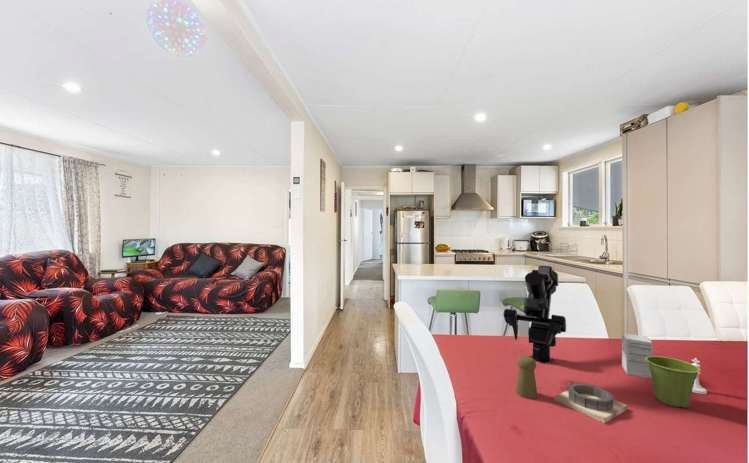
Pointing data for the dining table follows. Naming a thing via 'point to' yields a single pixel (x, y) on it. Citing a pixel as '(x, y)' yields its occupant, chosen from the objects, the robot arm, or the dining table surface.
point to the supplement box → (636, 355)
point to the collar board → (589, 411)
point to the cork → (526, 378)
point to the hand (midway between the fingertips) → (530, 342)
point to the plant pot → (672, 380)
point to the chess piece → (696, 386)
